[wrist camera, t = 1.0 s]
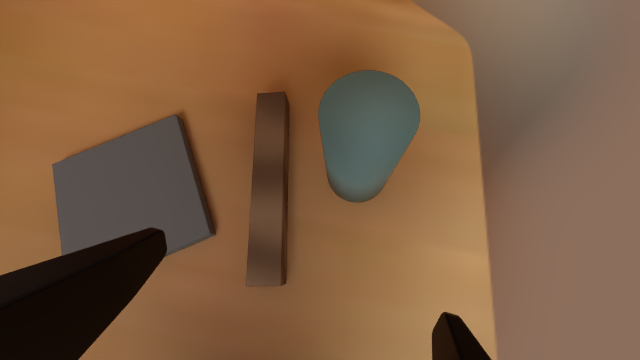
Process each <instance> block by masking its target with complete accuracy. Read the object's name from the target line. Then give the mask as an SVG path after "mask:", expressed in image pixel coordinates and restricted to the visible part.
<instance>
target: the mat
mask: <svg viewBox="0 0 640 360" xmlns="http://www.w3.org/2000/svg"><path fill="white" fill-rule="evenodd" d="M52 166H53V175H54V185H55V194H56V203H57V212H58V221H59V231H60V240H61V249H62V256H63V255H66V254H69V253H72V252H75V251H78V250H81V249H84V248H88V247H91V246H94V245H97V244H100V243H103V242H106V241H109V240H112V239H116V238H119V237H122V236H125V235H128V234H131V233H134V232H137V231H140V230H144V229H147V228H150V227H154V228H157V229H161V230H163V231H164V232H165V237H166V243H167V253H166V255H165V256H167V255H170V254H172V253H174V252H177V251H179V250H181V249H184V248H186V247H188V246H191V245H193V244H195V243H198V242H200V241H202V240H205V239H207V238H209V237H211V236H214V235H216V234H215V231H214V227H213V224H212V220H211V217H210V214H209V210H208V207H207V203H206V200H205V197H204V193H203V190H202V186H201V183H200V180H199V176H198V173H197V169H196V166H195V163H194V159H193V156H192V152H191V149H190V146H189V142H188V139H187V135H186V132H185V128H184V125H183V122H182V119H181V118H180V117H178V116H177V115H176V114H175V115H172V116H170V117H168V118H165V119H163V120H160V121H158V122H155V123H153V124H150V125H148V126H145V127H143V128H140V129H138V130H136V131H133V132H131V133H128V134H126V135H123V136H121V137H118V138H116V139H113V140H111V141H108V142H106V143H104V144H101V145H99V146H96V147H94V148H91V149H89V150H86V151H84V152H81V153H79V154H77V155H74V156H72V157H69V158H67V159H64V160H62V161H59V162H57V163H54V164H52Z"/></svg>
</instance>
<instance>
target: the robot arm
mask: <svg viewBox="0 0 640 360" xmlns="http://www.w3.org/2000/svg"><path fill="white" fill-rule="evenodd" d="M166 253H167V243H166V237H165V232H164V231H163V230H161V229H157V228H154V227H150V228H147V229H144V230H140V231H137V232H134V233H131V234H128V235H125V236H122V237H119V238H116V239H112V240H109V241H106V242H103V243H100V244H97V245H94V246H91V247H88V248H84V249H81V250H78V251H75V252H72V253H69V254H66V255H63V256H60V257H56V258H53V259H50V260H47V261H44V262H41V263H38V264H35V265H32V266H28V267H25V268H22V269H19V270H16V271H13V272H10V273H7V274H4V275H0V360H78V359H79V358H80V357H81V356H82V355H83V354H84V353H85V351H86V350H87V349H88V348H89V347H90V346H91V345H92V344H93V343H94V341H95V340H96V339H97V338H98V337H99V336H100V335H101V334H102V332H103V331H104V330H105V329H106V328H107V327H108V326H109V325H110V324H111V322H112V321H113V320H114V319H115V318H116V317H117V316H118V315H119V313H120V312H121V311H122V310H123V309H124V308H125V307H126V306H127V305H128V303H129V302H130V301H131V300H132V299H133V298H134V296H135V295H136V294H137V293H138V291H139V290H140V289H141V287H142V286H143V285H144V283H145V282H146V281H147V279H148V278H149V277H150V275H151V274H152V273H153V271H154V270H155V269H156V267H157V266H158V265H159V263H160V262H161V261H162V259H163V258H164V257H165V255H166ZM432 360H491V358H490V357H489V356H488V354H487V353H486V352H485V350H484V349H483V347H482V346H481V345H480V343H479V342H478V341H477V339H476V338H475V337H474V335H473V334H472V333H471V331H470V330H469V328H468V327H467V326H466V324H465V323H464V322H463V320H462V319H461V318H460V317H459V316H457V315H454V314H451V313H448V312H443V313H442V314H441V316H440V317H439V319H438V321H437V323H436V325H435V327H434V329H433V332H432Z"/></svg>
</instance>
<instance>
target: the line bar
mask: <svg viewBox="0 0 640 360" xmlns="http://www.w3.org/2000/svg"><path fill="white" fill-rule="evenodd" d="M288 146H289V102H288V99H287V96H286V93H285V92H275V93H259V94H257V107H256V124H255V141H254V158H253V175H252V192H251V209H250V226H249V243H248V260H247V277H246V287H252V286H282V285H284V284H286V257H287V202H288Z"/></svg>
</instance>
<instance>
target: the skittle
mask: <svg viewBox="0 0 640 360" xmlns="http://www.w3.org/2000/svg"><path fill="white" fill-rule="evenodd" d="M318 116H319V125H320V131H321V137H322V144H323V150H324V157H325V163H326V169H327V176H328V181H329V184H330V186H331V188H332V190H333V191H334V192H335V193H336V194H337V195H338V196H339V197H341V198H342V199H344V200H347V201H350V202H364V201H368V200H370V199H372V198H374V197H375V196H376V195H377V194H379V192H380V191H381V190H382V188H383V186H384V185H385V183H386V182H387V180H388V178H389V177H390V175H391V173H392V172H393V170H394V168H395V167H396V165H397V163H398V162H399V160H400V158H401V157H402V155H403V153H404V152H405V150H406V149H407V147H408V145H409V144H410V142H411V140H412V139H413V137H414V135H415V134H416V131H417V129H418V126H419V122H420V109H419V104H418V102H417V99H416V97H415V95H414V93H413V92H412V91H411V89H410V88H409V87H408V86H407V85H406V84H405V83H404V82H402V81H401V80H400V79H398V78H396V77H394V76H392V75H390V74H387V73H384V72H380V71H372V70H365V71H358V72H353V73H350V74H347V75H345V76H343V77H341V78H340V79H338V80H337V81H335V82H334V83H333V84H332V85H331V86H330V87H329V88H328V89H327V91H326V92H325V93H324V95H323V97H322V99H321V102H320V106H319V113H318Z"/></svg>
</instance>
